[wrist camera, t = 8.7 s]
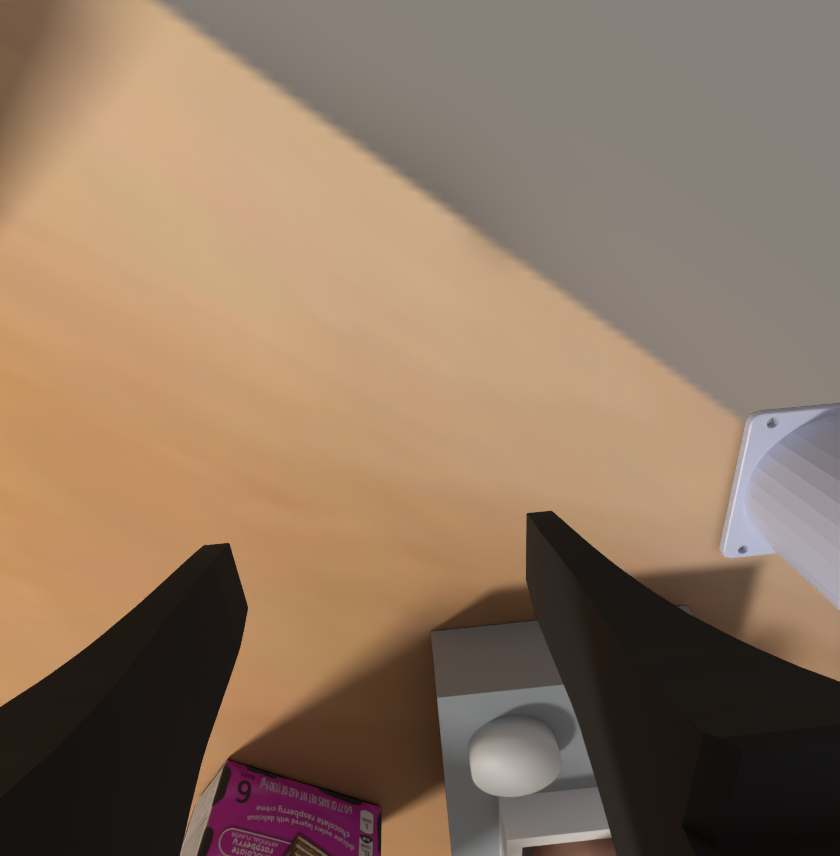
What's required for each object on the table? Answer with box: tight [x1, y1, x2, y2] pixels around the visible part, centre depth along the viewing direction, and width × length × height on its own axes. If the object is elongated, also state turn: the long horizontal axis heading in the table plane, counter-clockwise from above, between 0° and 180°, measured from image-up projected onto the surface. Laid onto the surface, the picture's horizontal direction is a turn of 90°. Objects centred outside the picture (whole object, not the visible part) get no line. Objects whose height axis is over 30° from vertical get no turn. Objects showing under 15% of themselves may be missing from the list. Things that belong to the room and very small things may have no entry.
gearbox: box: [431, 605, 694, 856], centre depth 29 cm, size 14×20×6 cm
